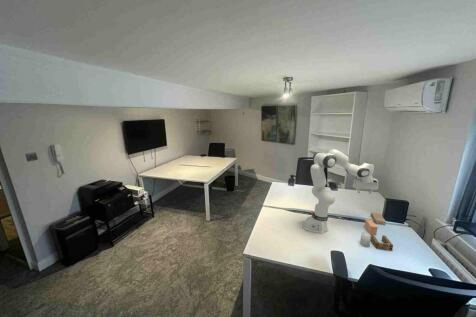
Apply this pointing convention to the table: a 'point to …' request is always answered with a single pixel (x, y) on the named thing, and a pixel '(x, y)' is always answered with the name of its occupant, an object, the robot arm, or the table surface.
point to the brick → (378, 218)
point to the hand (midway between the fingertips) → (364, 193)
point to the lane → (378, 245)
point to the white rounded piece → (365, 239)
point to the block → (370, 227)
